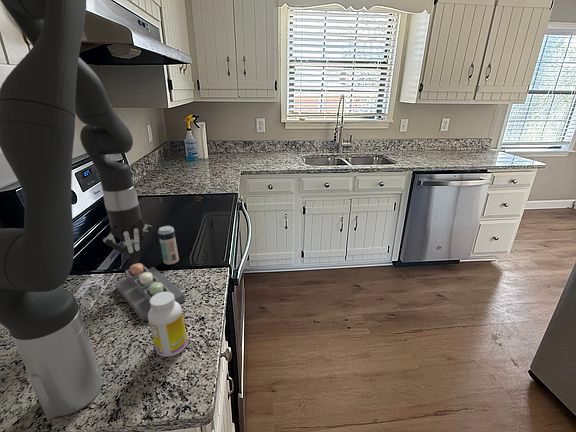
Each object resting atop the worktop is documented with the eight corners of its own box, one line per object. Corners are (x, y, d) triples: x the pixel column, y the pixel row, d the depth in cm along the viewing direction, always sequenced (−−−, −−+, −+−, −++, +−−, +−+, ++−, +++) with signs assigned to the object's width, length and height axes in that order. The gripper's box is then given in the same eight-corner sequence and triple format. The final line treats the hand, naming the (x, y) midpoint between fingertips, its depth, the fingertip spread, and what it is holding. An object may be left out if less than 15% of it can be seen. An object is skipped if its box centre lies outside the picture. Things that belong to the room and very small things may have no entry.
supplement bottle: (191, 334, 72) (183, 287, 67) (183, 357, 65) (173, 308, 60) (161, 335, 71) (151, 288, 66) (150, 359, 65) (139, 309, 60)
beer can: (181, 257, 103) (175, 224, 99) (176, 265, 99) (171, 231, 94) (166, 258, 103) (160, 225, 99) (161, 265, 99) (155, 231, 94)
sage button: (153, 300, 78) (151, 291, 77) (148, 294, 80) (146, 285, 79) (166, 294, 80) (164, 285, 79) (160, 289, 82) (159, 280, 81)
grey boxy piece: (142, 321, 76) (139, 306, 74) (116, 287, 88) (112, 274, 86) (184, 300, 83) (182, 286, 81) (154, 272, 95) (152, 259, 94)
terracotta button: (134, 279, 86) (132, 270, 85) (130, 274, 89) (128, 266, 87) (146, 274, 88) (144, 266, 87) (141, 270, 91) (139, 262, 90)
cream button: (143, 289, 82) (141, 280, 81) (139, 284, 84) (137, 275, 83) (155, 284, 84) (153, 275, 83) (150, 279, 86) (149, 270, 85)
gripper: (98, 215, 74) (114, 277, 80) (153, 201, 82) (164, 258, 89) (89, 207, 79) (105, 266, 85) (142, 194, 87) (153, 249, 94)
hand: (135, 262), depth 87 cm, fingers closed
